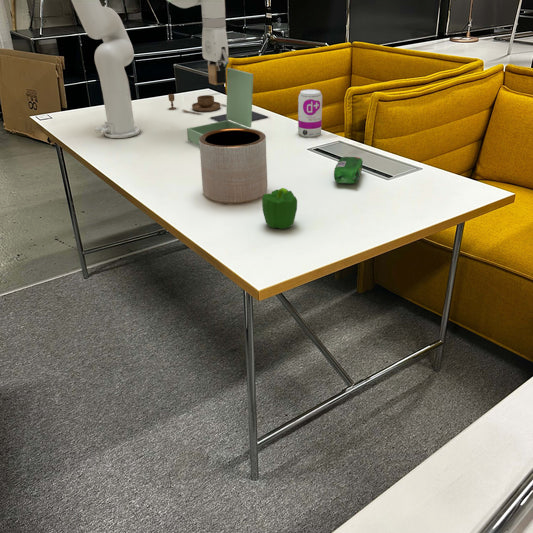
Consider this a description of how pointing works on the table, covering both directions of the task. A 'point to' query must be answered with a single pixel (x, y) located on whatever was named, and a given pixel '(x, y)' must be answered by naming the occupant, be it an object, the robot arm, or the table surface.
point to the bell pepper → (279, 208)
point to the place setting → (200, 103)
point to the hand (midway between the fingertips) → (217, 80)
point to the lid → (239, 96)
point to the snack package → (348, 170)
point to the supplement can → (309, 113)
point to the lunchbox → (209, 129)
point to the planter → (233, 164)
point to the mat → (254, 117)
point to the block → (213, 74)
